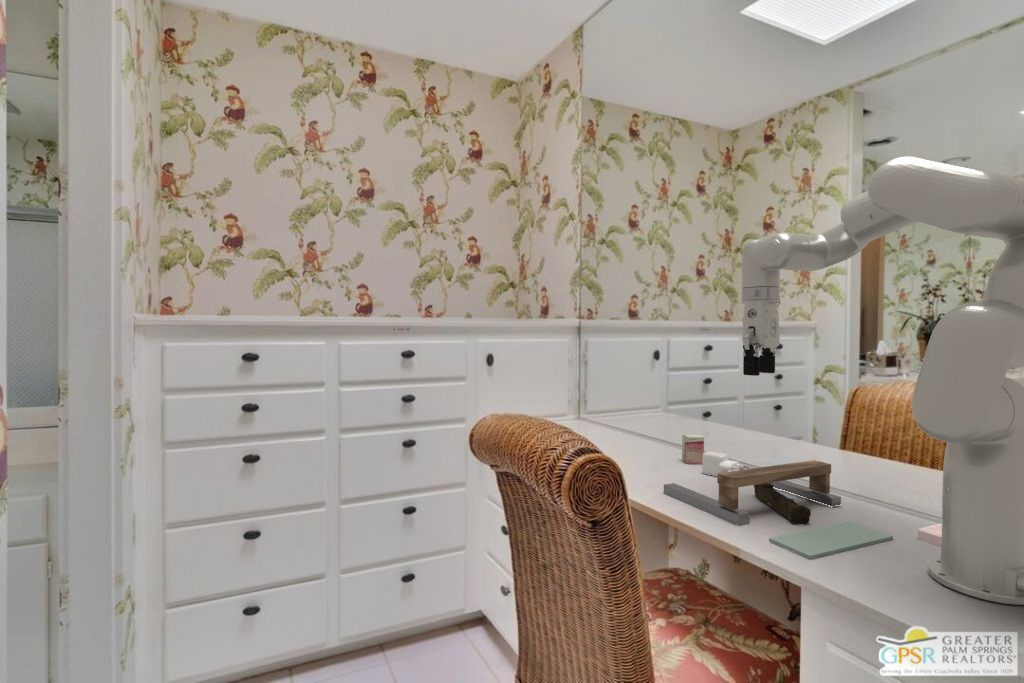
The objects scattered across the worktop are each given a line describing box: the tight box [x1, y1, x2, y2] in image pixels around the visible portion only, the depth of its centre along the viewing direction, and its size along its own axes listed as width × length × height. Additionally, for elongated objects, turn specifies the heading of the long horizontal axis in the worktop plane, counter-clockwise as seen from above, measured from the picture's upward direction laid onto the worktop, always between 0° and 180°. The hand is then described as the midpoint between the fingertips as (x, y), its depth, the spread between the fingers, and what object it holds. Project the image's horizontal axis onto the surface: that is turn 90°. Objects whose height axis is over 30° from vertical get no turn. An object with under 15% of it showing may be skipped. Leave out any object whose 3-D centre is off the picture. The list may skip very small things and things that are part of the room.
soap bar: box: [916, 522, 942, 548], centre depth 95 cm, size 5×9×2 cm, turn 113°
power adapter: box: [701, 450, 750, 478], centre depth 136 cm, size 11×5×6 cm, turn 43°
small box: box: [681, 433, 705, 465], centre depth 151 cm, size 5×4×8 cm
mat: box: [768, 521, 894, 560], centre depth 95 cm, size 8×22×1 cm, turn 113°
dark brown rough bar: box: [753, 483, 812, 525], centre depth 112 cm, size 19×4×5 cm, turn 178°
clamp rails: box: [663, 480, 842, 526], centre depth 118 cm, size 22×30×2 cm
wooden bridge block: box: [716, 459, 832, 510], centre depth 111 cm, size 4×29×6 cm, turn 113°
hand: (759, 374), depth 115 cm, fingers open, 9 cm apart
